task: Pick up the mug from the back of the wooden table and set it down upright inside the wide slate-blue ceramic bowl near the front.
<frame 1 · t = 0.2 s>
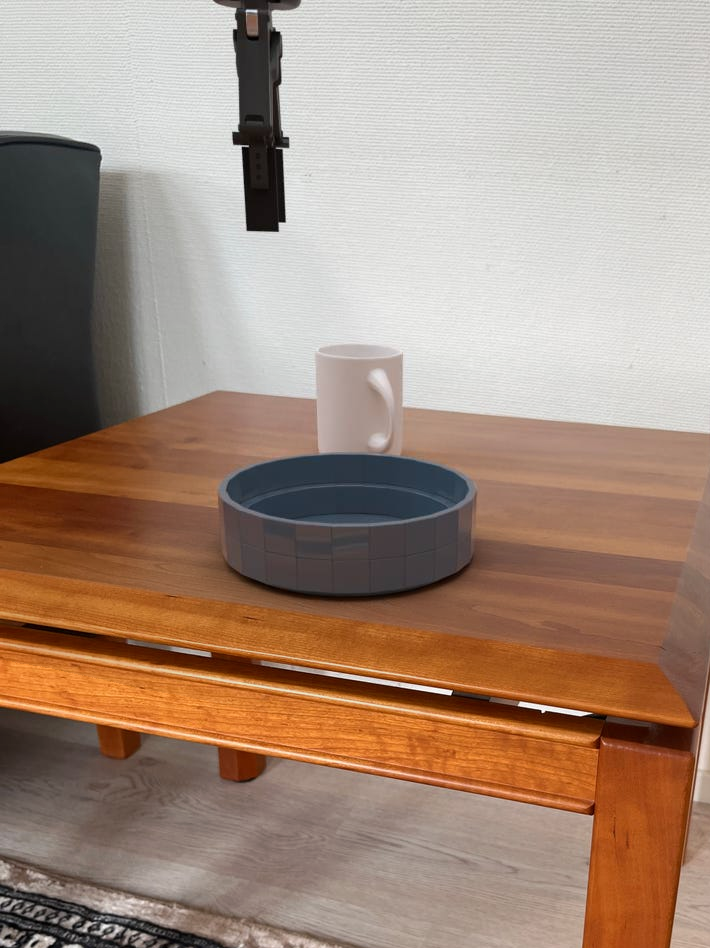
hand: (267, 227, 93), 22 cm above the table, tool pointing down, fingers open, 13 cm apart
mug: (367, 462, 104), on the table
bowl: (350, 553, 79), on the table
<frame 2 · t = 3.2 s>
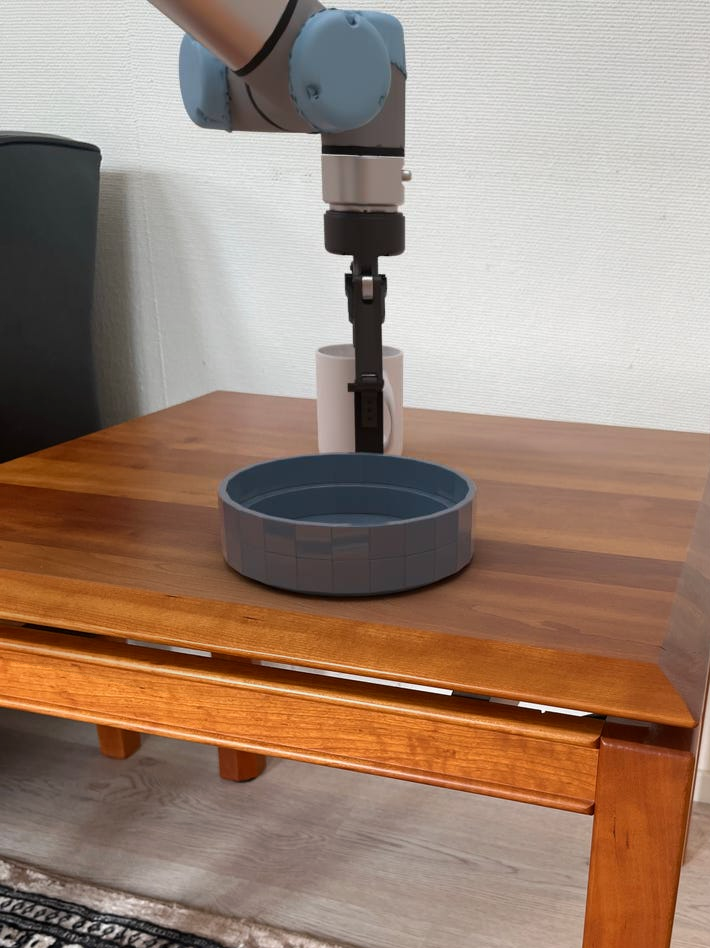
hand: (367, 443, 103), 2 cm above the table, tool pointing down, fingers closed on mug, 11 cm apart
mug: (367, 463, 104), on the table, touching gripper
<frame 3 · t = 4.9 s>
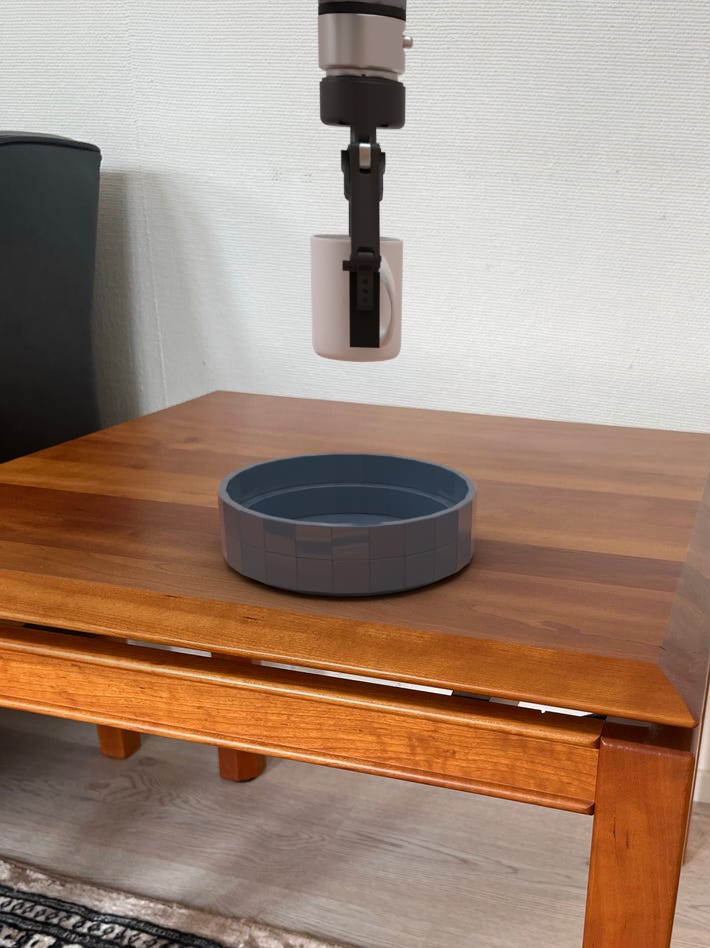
hand: (363, 337, 98), 12 cm above the table, tool pointing down, fingers closed on mug, 11 cm apart
mug: (364, 360, 99), point 10 cm above the table, touching gripper
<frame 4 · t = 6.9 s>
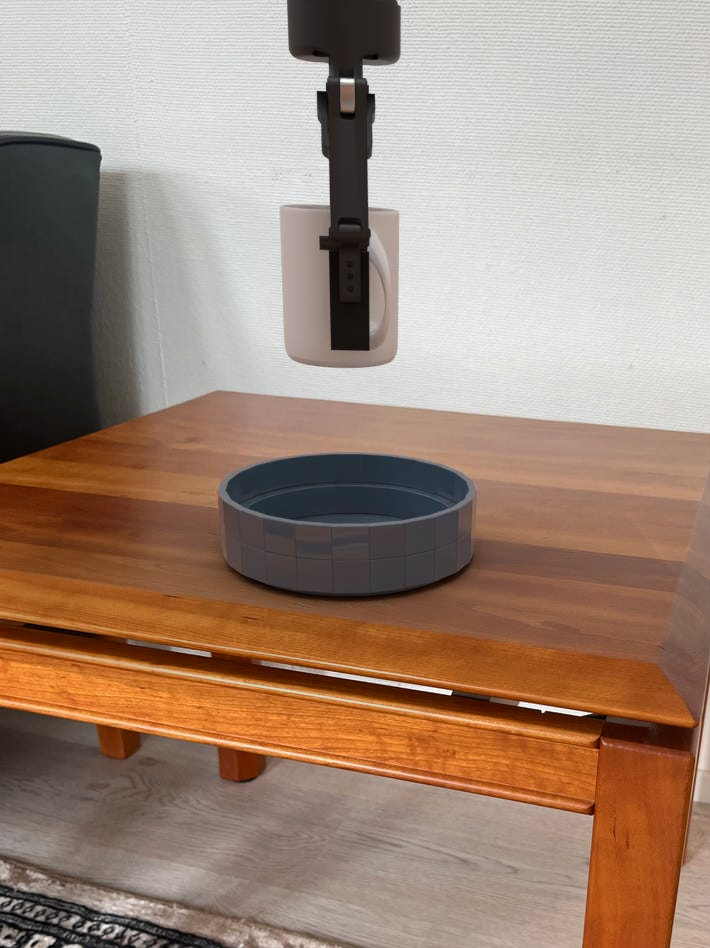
hand: (348, 337, 77), 16 cm above the table, tool pointing down, fingers closed on mug, 11 cm apart
mug: (351, 365, 77), point 14 cm above the table, touching gripper
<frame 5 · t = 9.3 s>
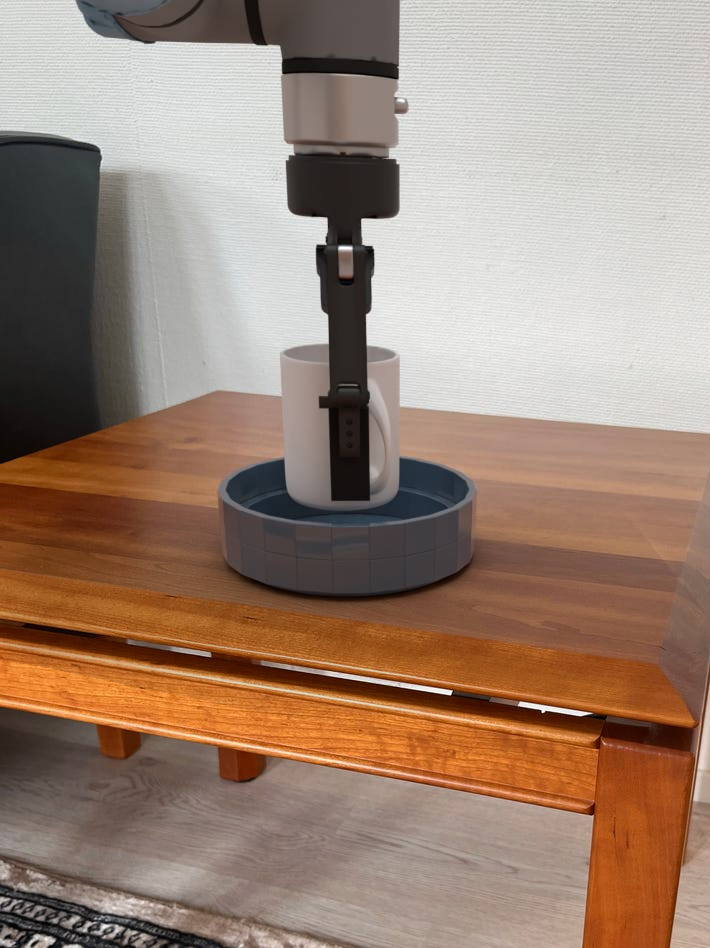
hand: (349, 476, 77), 6 cm above the table, tool pointing down, fingers closed on mug, 11 cm apart
mug: (352, 504, 77), point 4 cm above the table, touching gripper
when the fingers open (2 cm above the table, at t = 10.8 s): mug stays where it is, resting on bowl.
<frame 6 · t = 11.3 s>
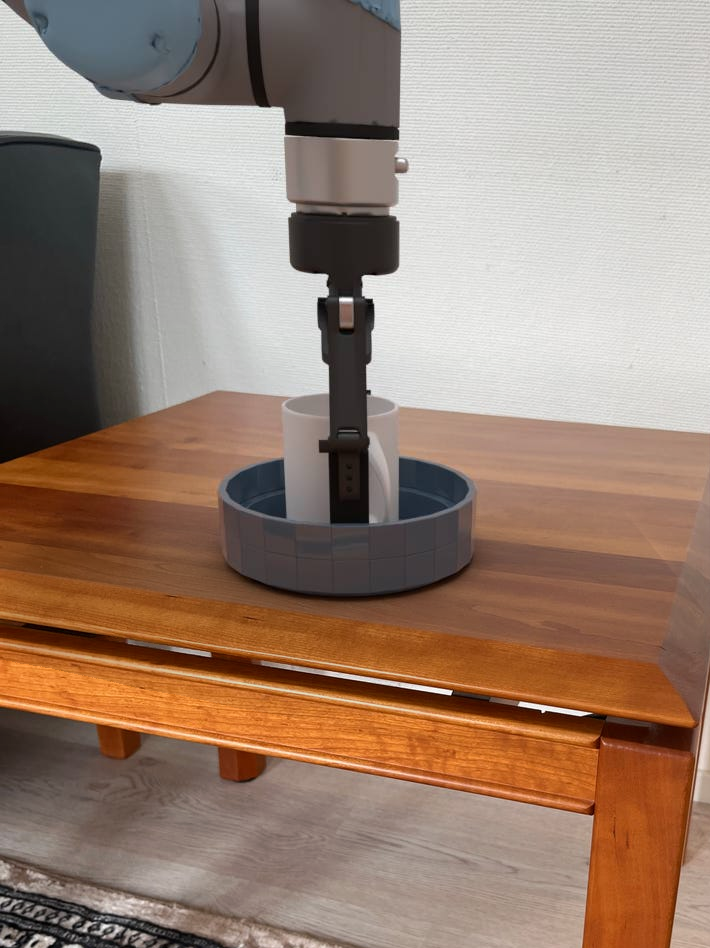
hand: (349, 511, 78), 3 cm above the table, tool pointing down, fingers open, 13 cm apart
mug: (352, 550, 79), resting on bowl
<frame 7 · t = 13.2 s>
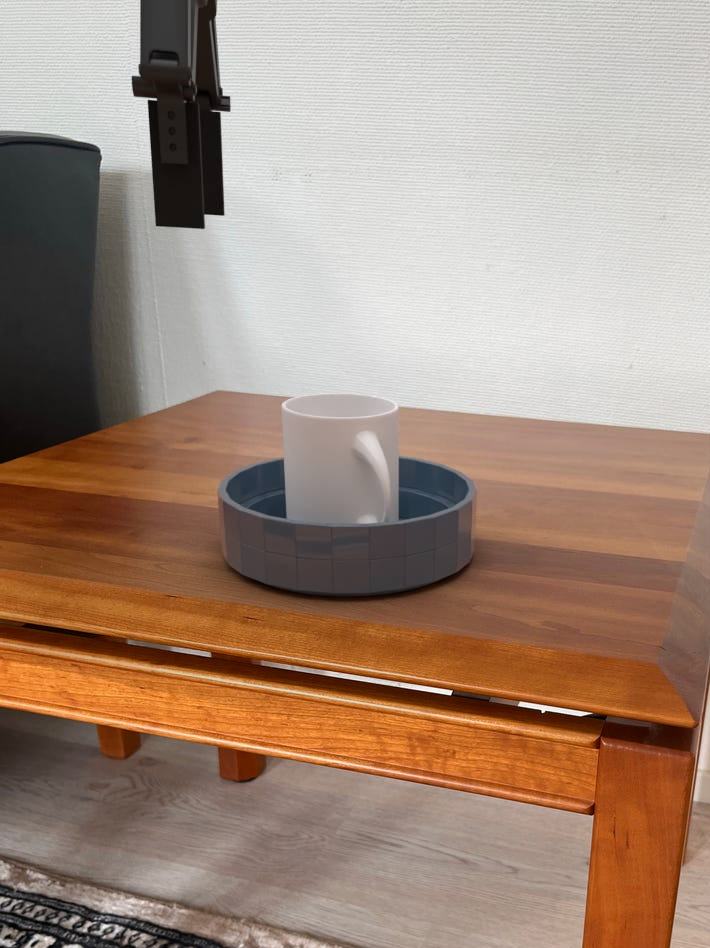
hand: (193, 221, 66), 24 cm above the table, tool pointing down, fingers open, 13 cm apart
nothing on the table moved.
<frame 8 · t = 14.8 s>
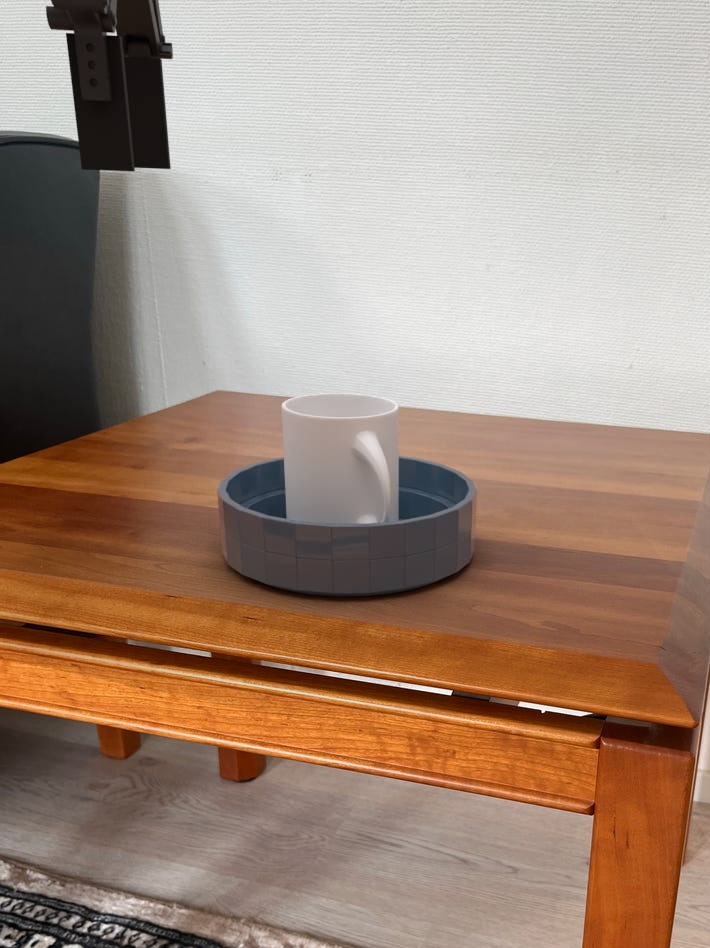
hand: (131, 170, 63), 27 cm above the table, tool pointing down, fingers open, 13 cm apart
nothing on the table moved.
at the end: mug inside the target area in the bowl (0.5 cm from its centre), point 0.4 cm above the bowl's base; mug tilted 0°; the gripper is holding nothing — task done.
